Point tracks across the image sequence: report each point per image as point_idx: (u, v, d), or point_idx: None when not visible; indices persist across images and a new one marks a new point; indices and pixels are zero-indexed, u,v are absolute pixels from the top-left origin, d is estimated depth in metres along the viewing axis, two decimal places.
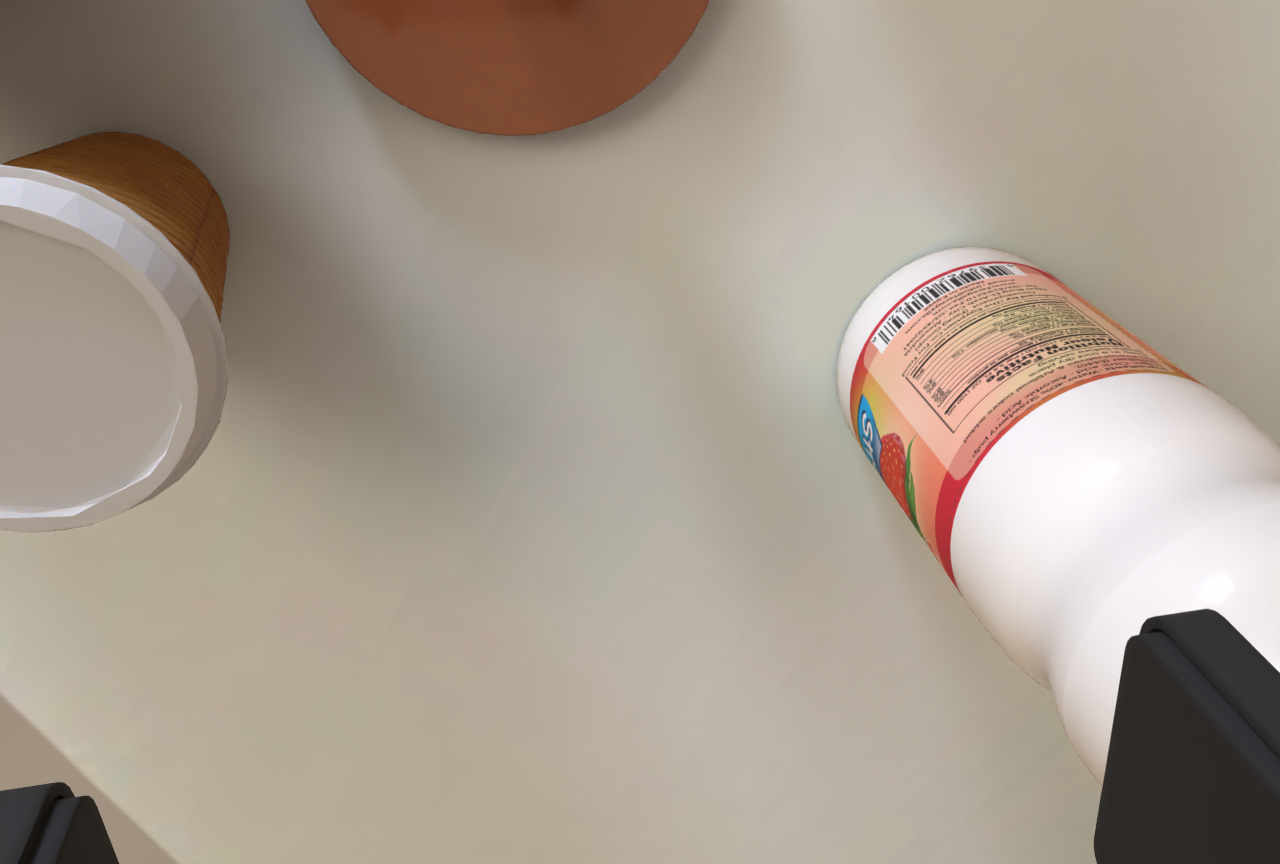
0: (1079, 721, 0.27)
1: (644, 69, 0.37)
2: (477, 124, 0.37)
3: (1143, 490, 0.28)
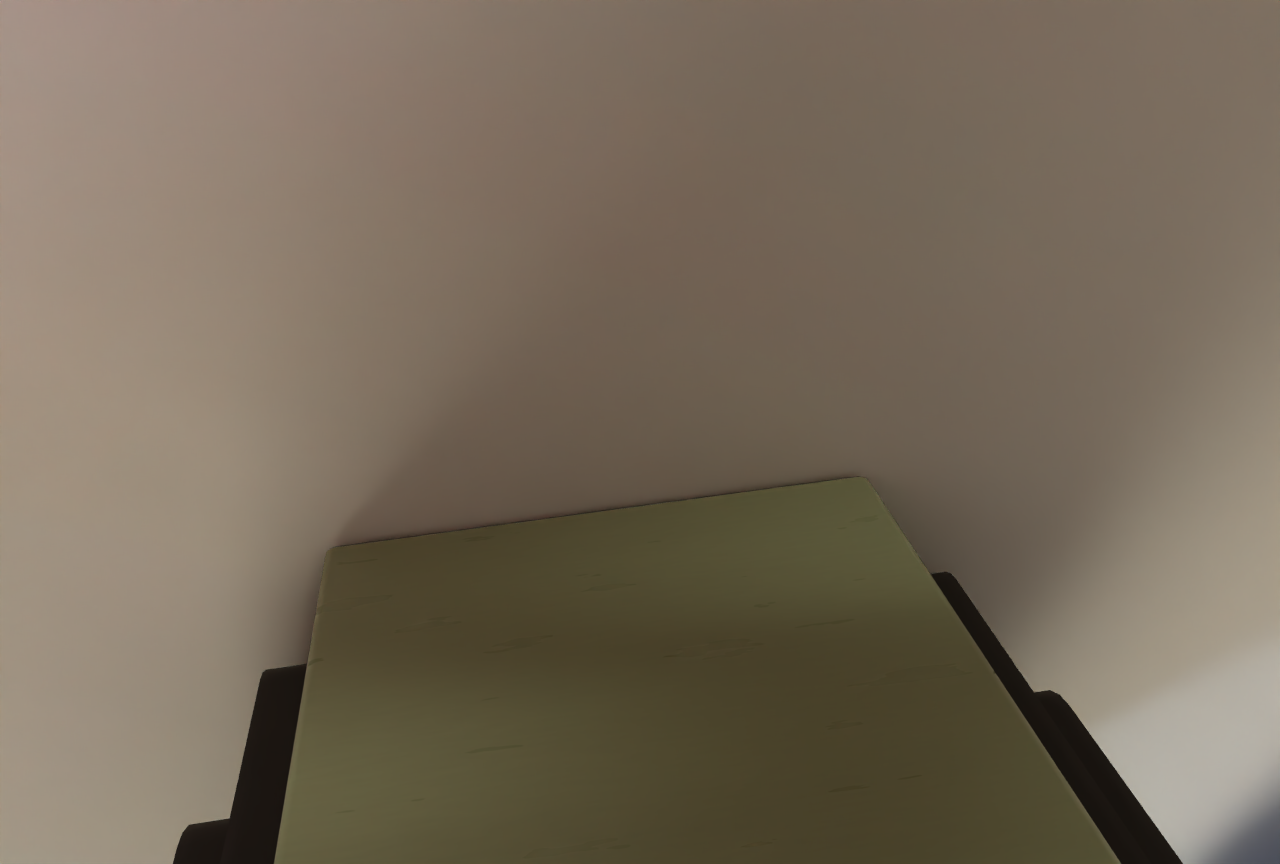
0: None
1: None
2: None
3: None
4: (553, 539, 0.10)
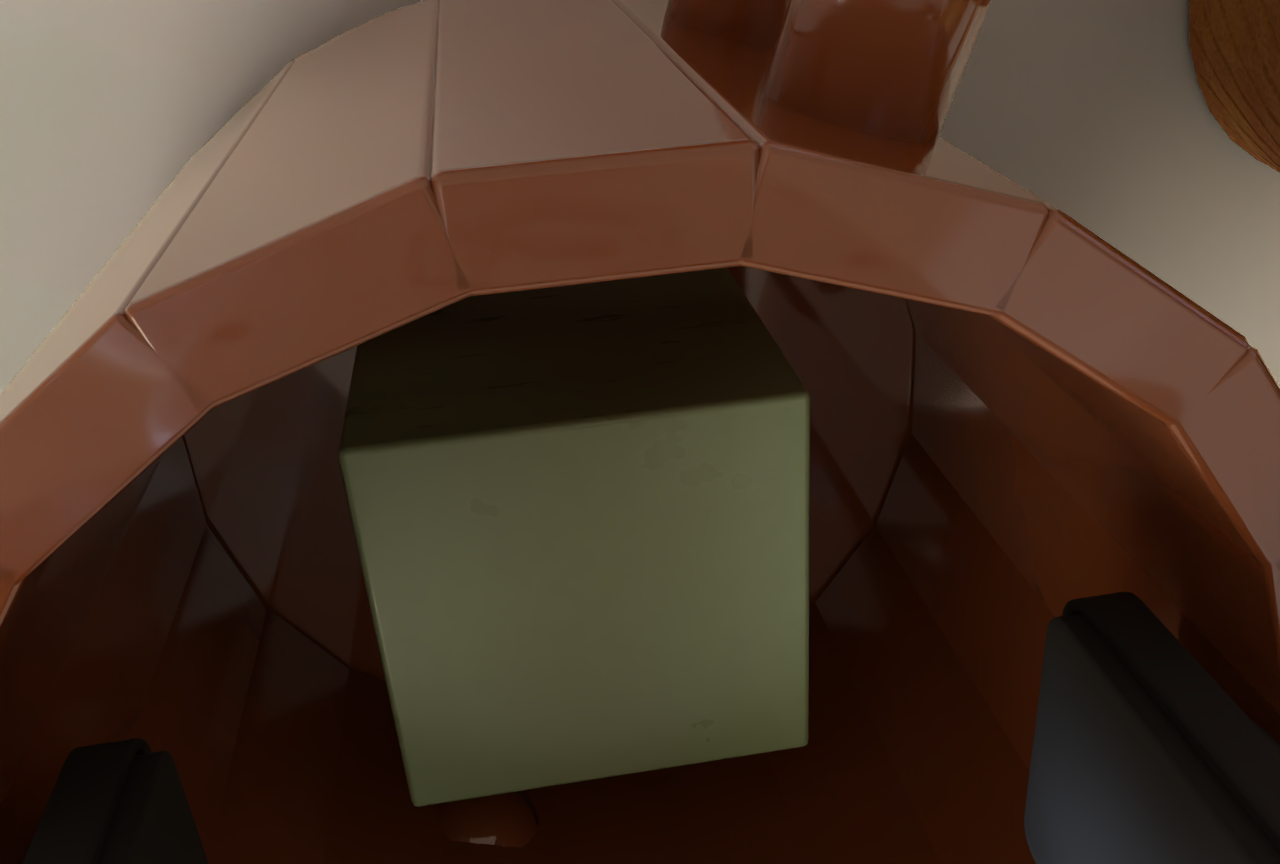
0: None
1: None
2: None
3: None
4: None
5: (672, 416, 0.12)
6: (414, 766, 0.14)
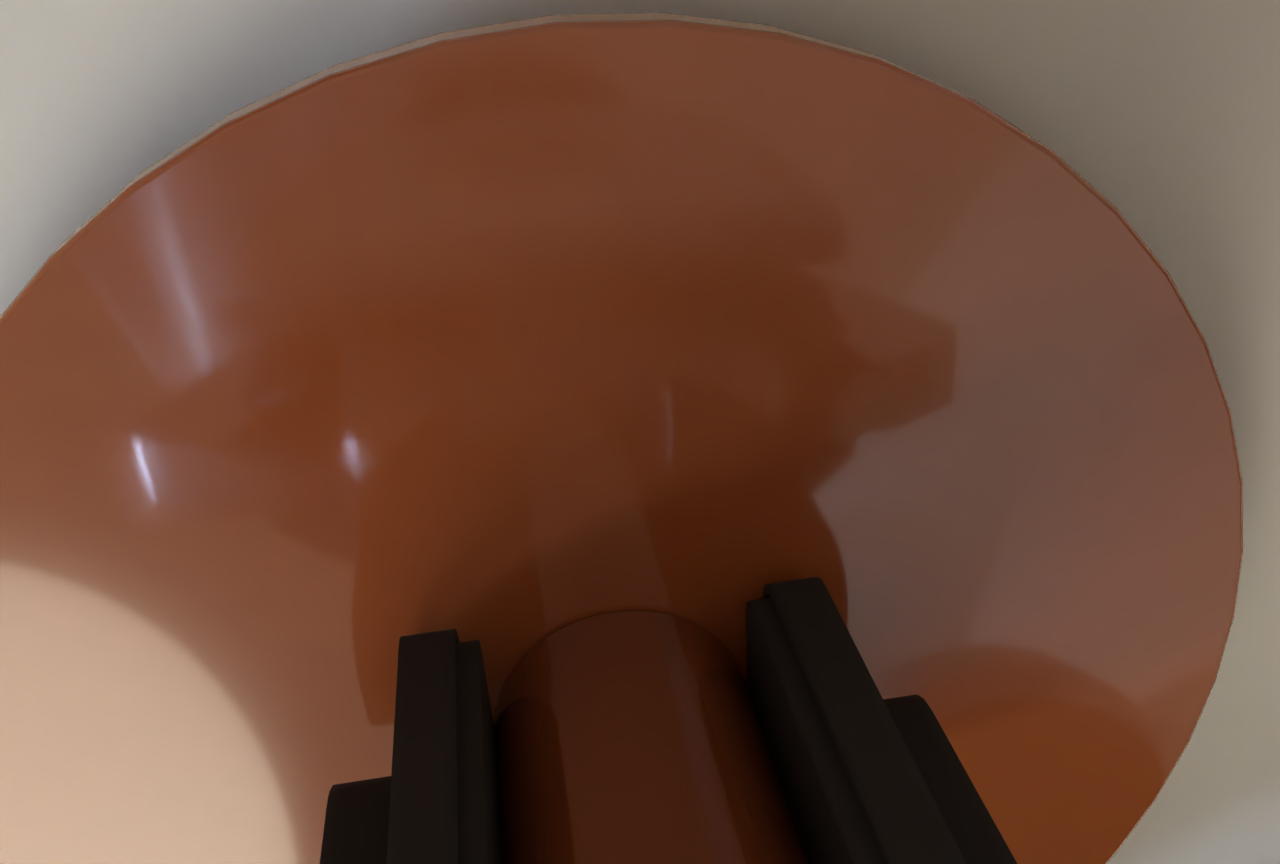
0: None
1: (1130, 313, 0.11)
2: (1167, 748, 0.13)
3: None
4: None
5: None
6: None
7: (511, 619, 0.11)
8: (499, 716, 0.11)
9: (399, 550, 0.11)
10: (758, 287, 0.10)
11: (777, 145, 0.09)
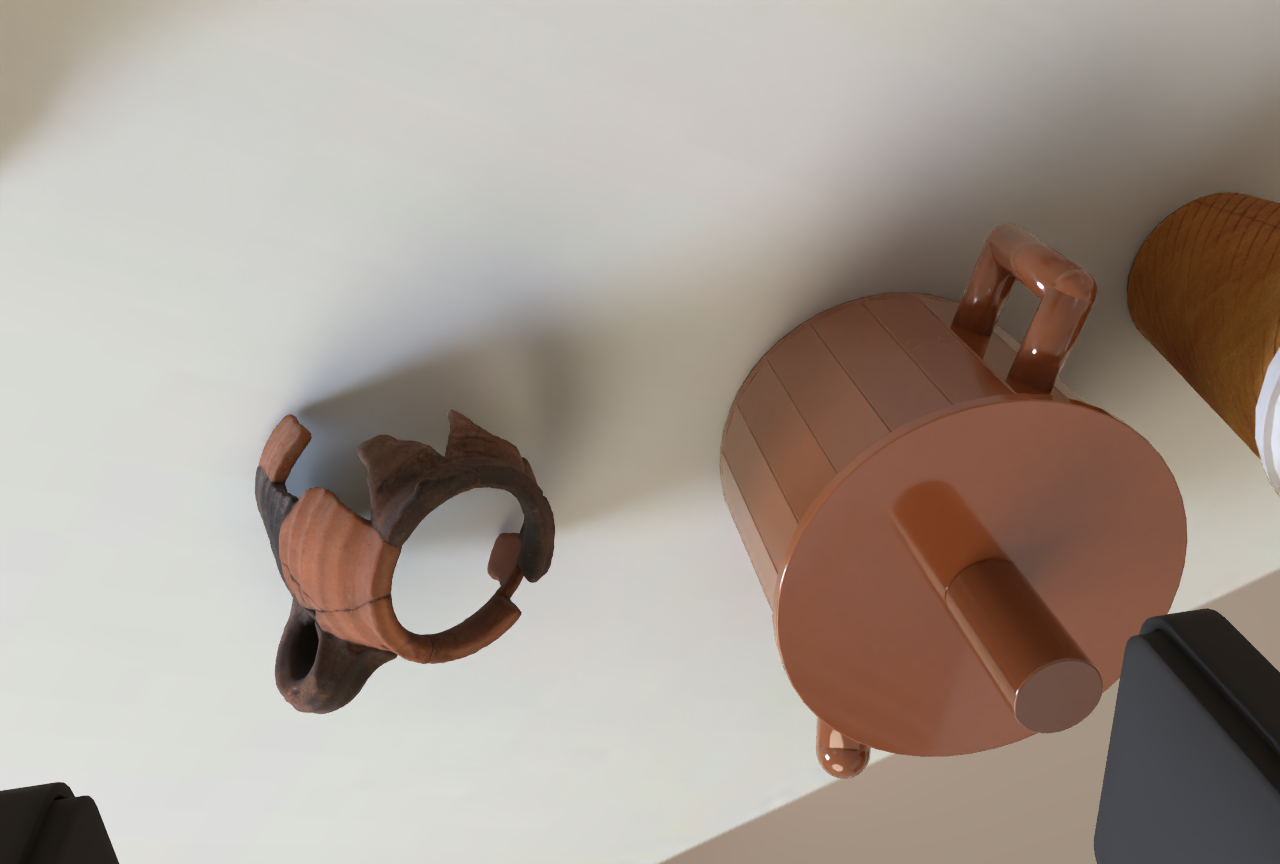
0: None
1: (1150, 469, 0.35)
2: (1162, 610, 0.38)
3: None
4: None
5: None
6: None
7: (957, 561, 0.36)
8: (953, 592, 0.36)
9: (930, 540, 0.35)
10: (1044, 464, 0.34)
11: (1053, 428, 0.34)
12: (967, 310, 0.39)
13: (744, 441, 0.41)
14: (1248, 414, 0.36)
